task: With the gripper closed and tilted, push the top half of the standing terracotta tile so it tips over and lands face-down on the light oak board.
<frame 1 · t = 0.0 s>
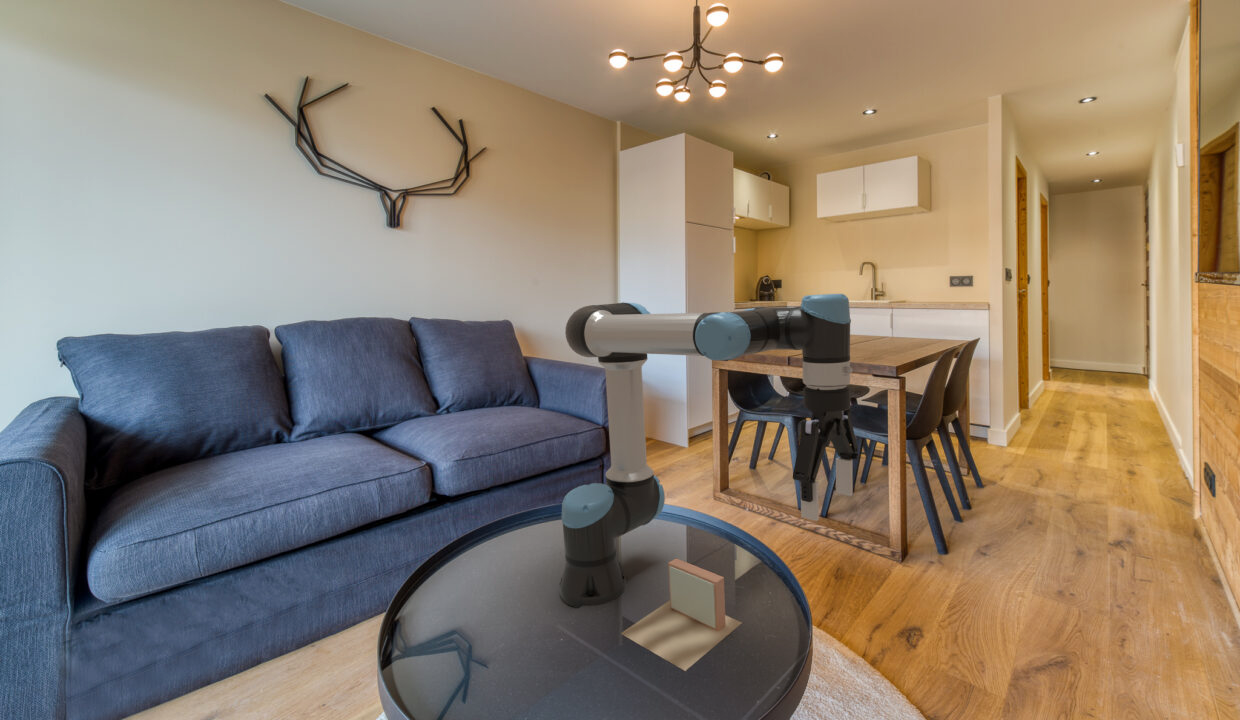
hand: (828, 505, 93), 28 cm above the table, tool pointing down, fingers open, 13 cm apart
terracotta tile: (697, 616, 108), point 1 cm above the table, touching oak board
oak board: (681, 631, 105), on the table
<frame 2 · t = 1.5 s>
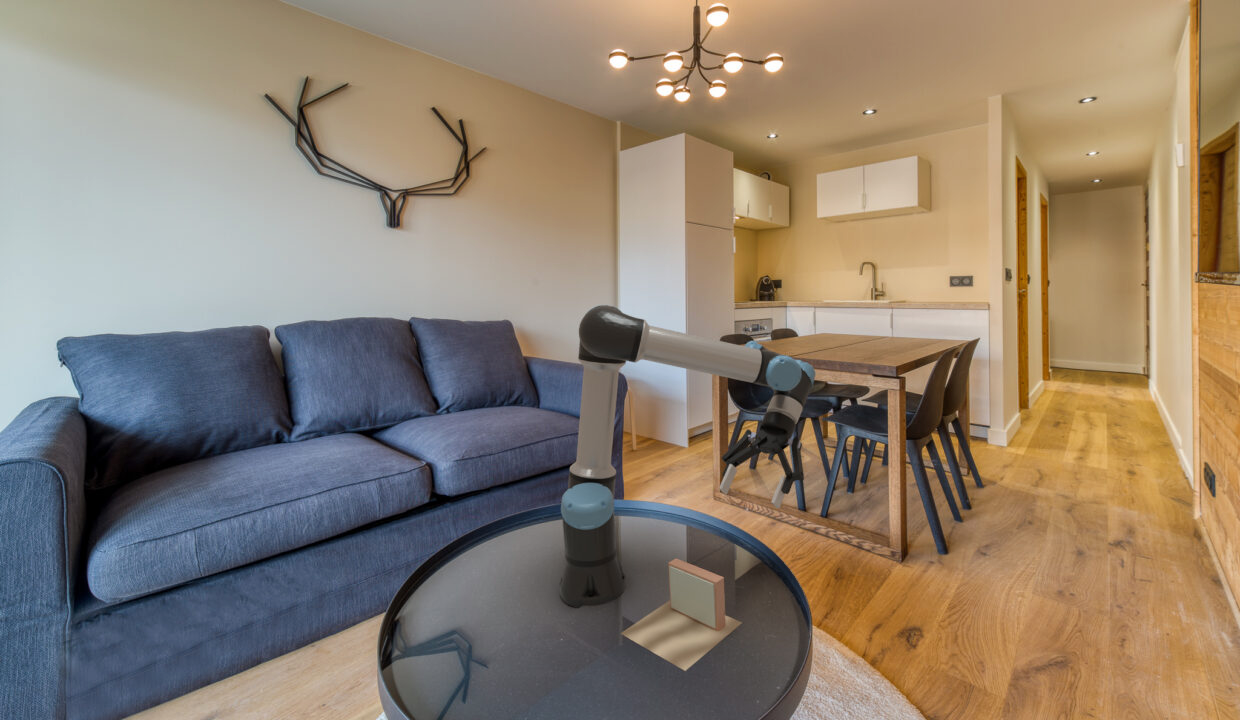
hand: (747, 498, 119), 20 cm above the table, tool tilted 45°, fingers open, 13 cm apart
nothing on the table moved.
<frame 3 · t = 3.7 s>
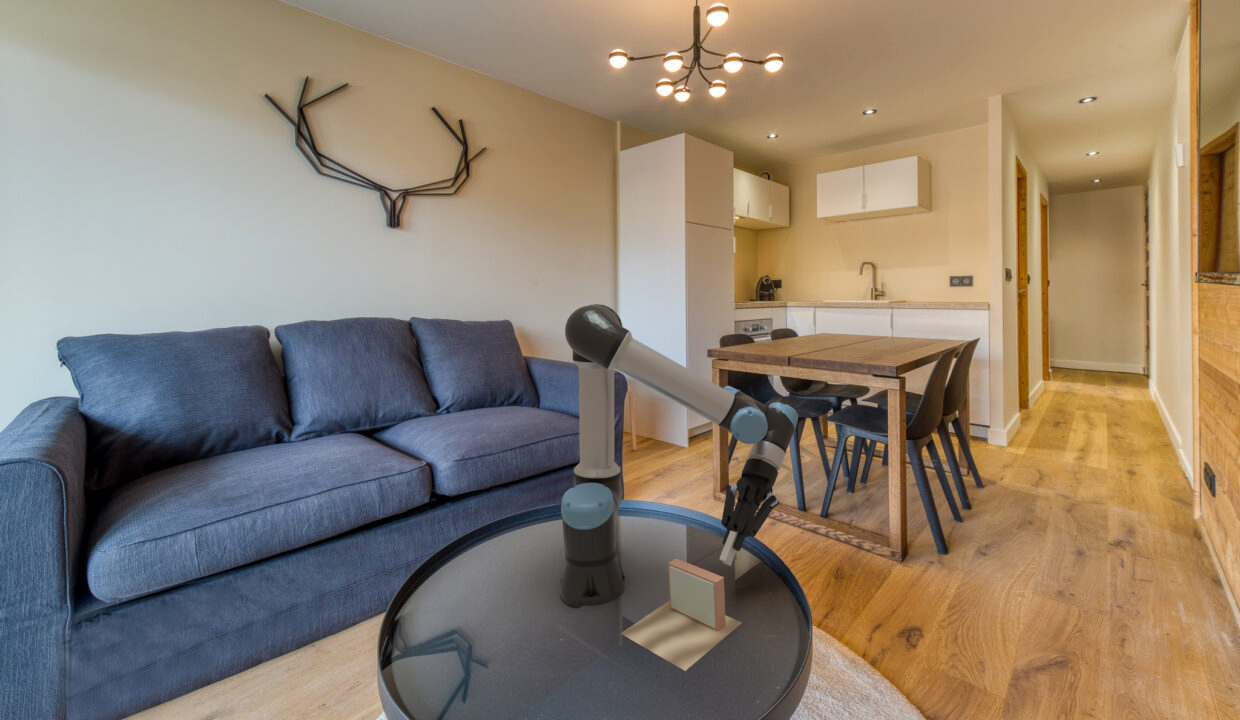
hand: (724, 562, 113), 9 cm above the table, tool tilted 45°, fingers closed
nothing on the table moved.
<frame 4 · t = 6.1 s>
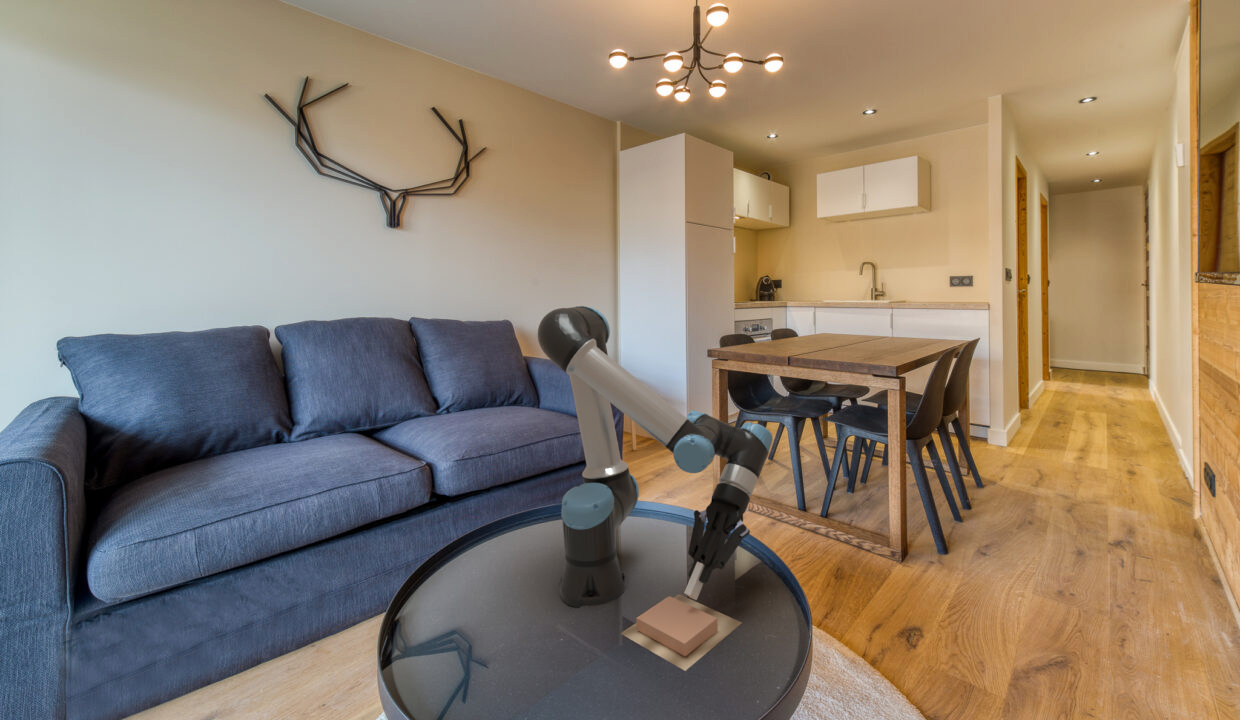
hand: (690, 596, 106), 6 cm above the table, tool tilted 45°, fingers closed
terracotta tile: (692, 612, 107), point 2 cm above the table, tilted 90°, touching oak board
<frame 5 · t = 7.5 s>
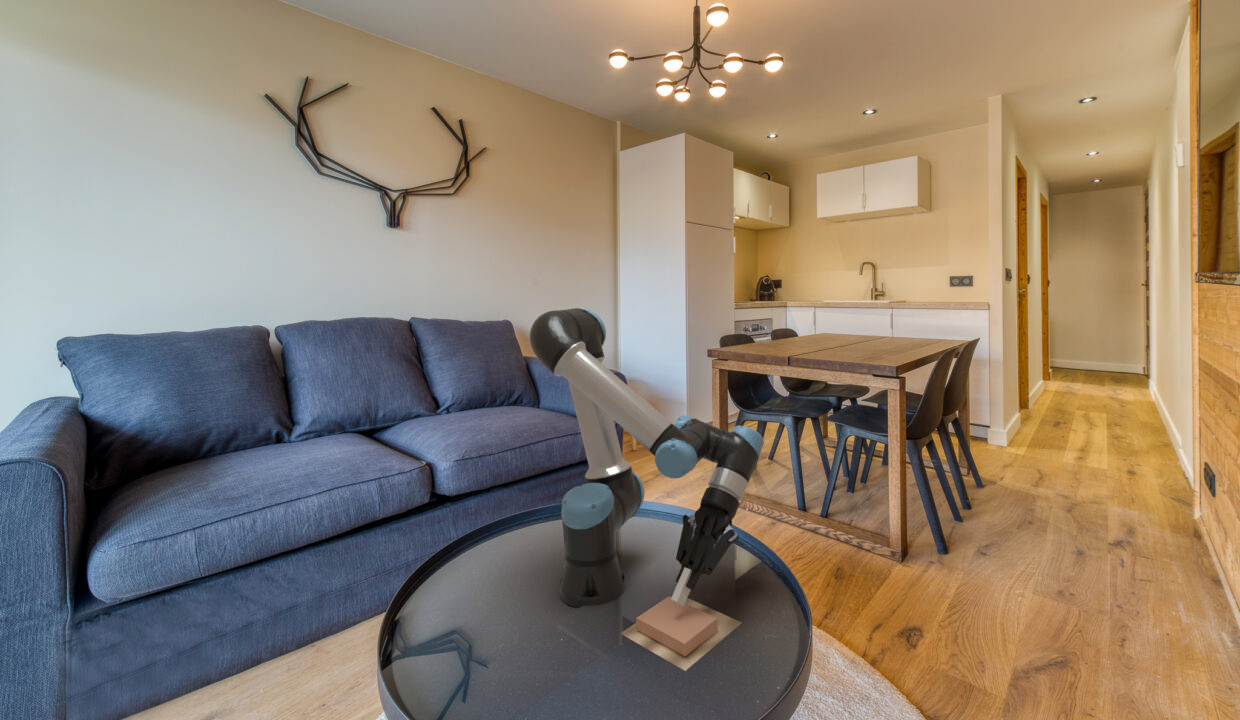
hand: (677, 602, 104), 7 cm above the table, tool tilted 45°, fingers closed
nothing on the table moved.
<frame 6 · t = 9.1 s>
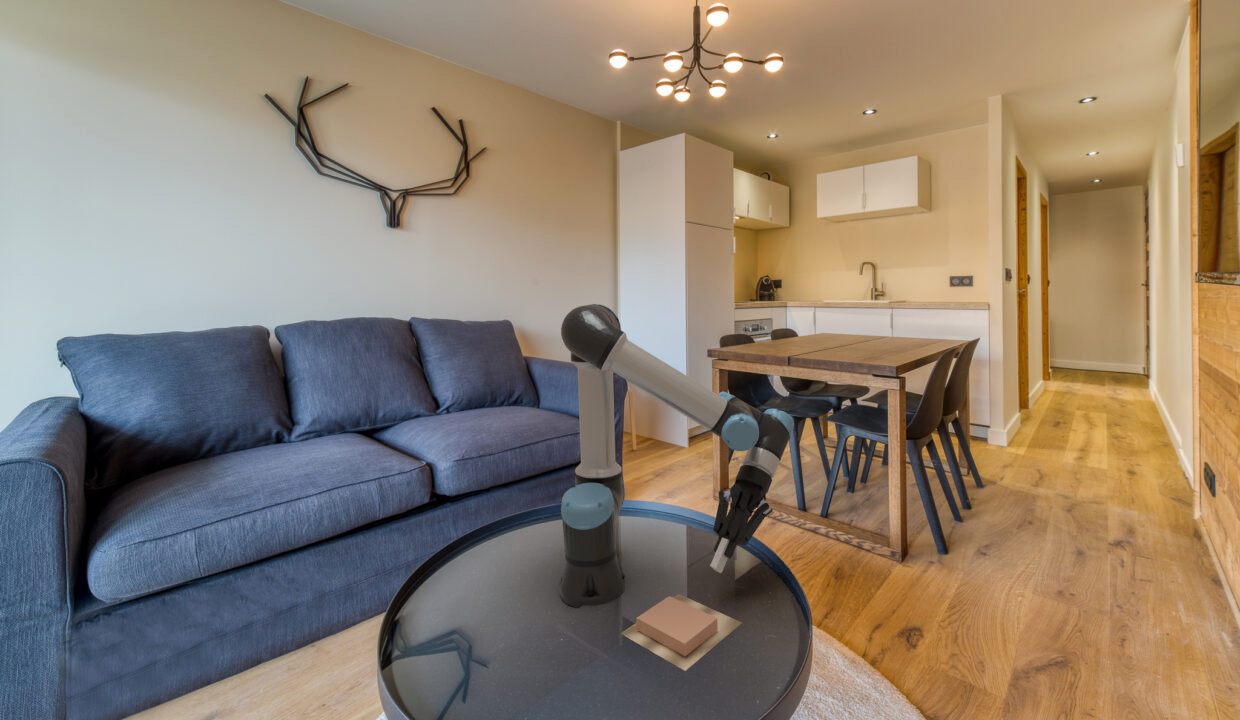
hand: (715, 569, 112), 8 cm above the table, tool tilted 45°, fingers closed
nothing on the table moved.
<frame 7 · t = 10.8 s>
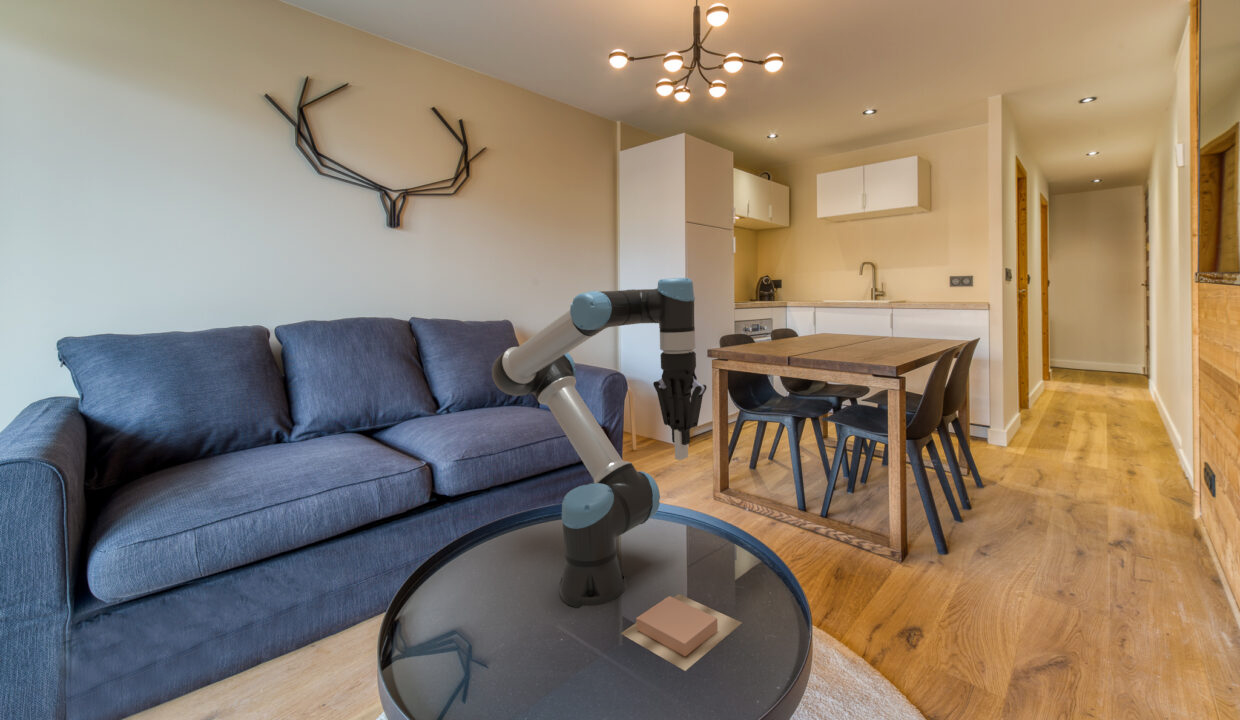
hand: (681, 457, 117), 30 cm above the table, tool pointing down, fingers closed
nothing on the table moved.
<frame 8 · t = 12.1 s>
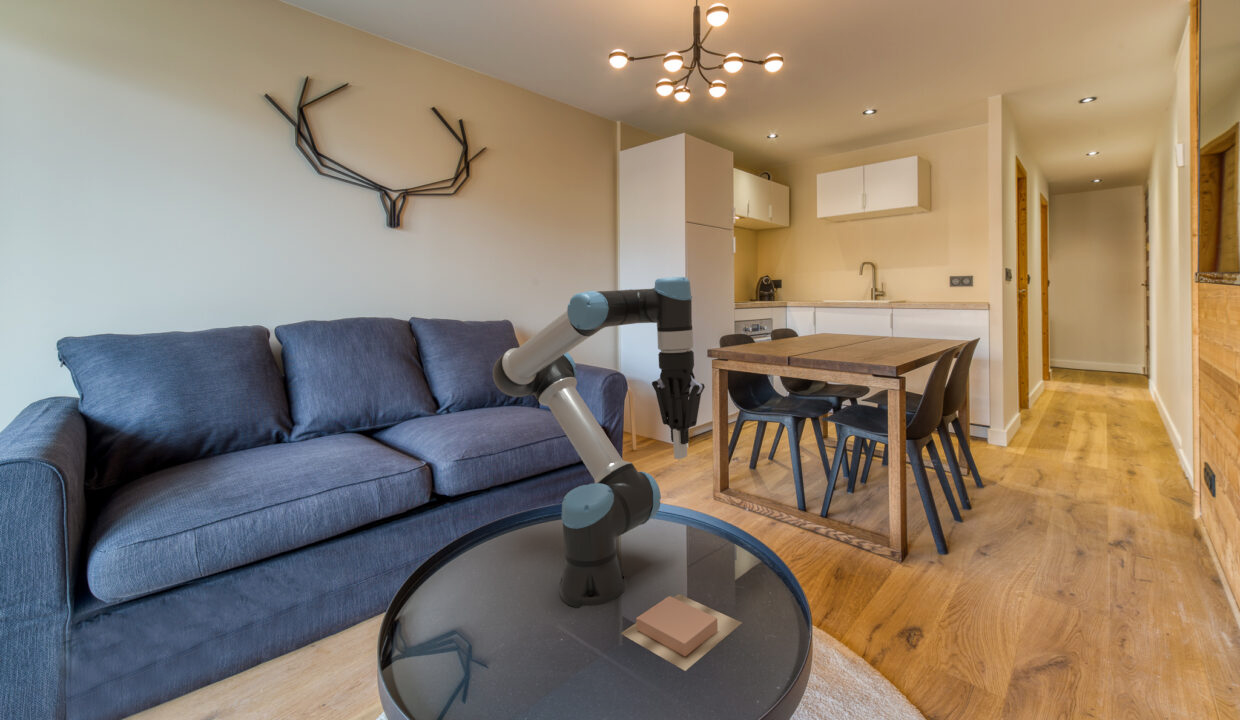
hand: (680, 457, 117), 30 cm above the table, tool pointing down, fingers closed
nothing on the table moved.
at the end: terracotta tile tilted 90°; terracotta tile inside the target area on the oak board (2.6 cm from its centre), point 2.3 cm above the oak board's base; terracotta tile touching oak board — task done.
